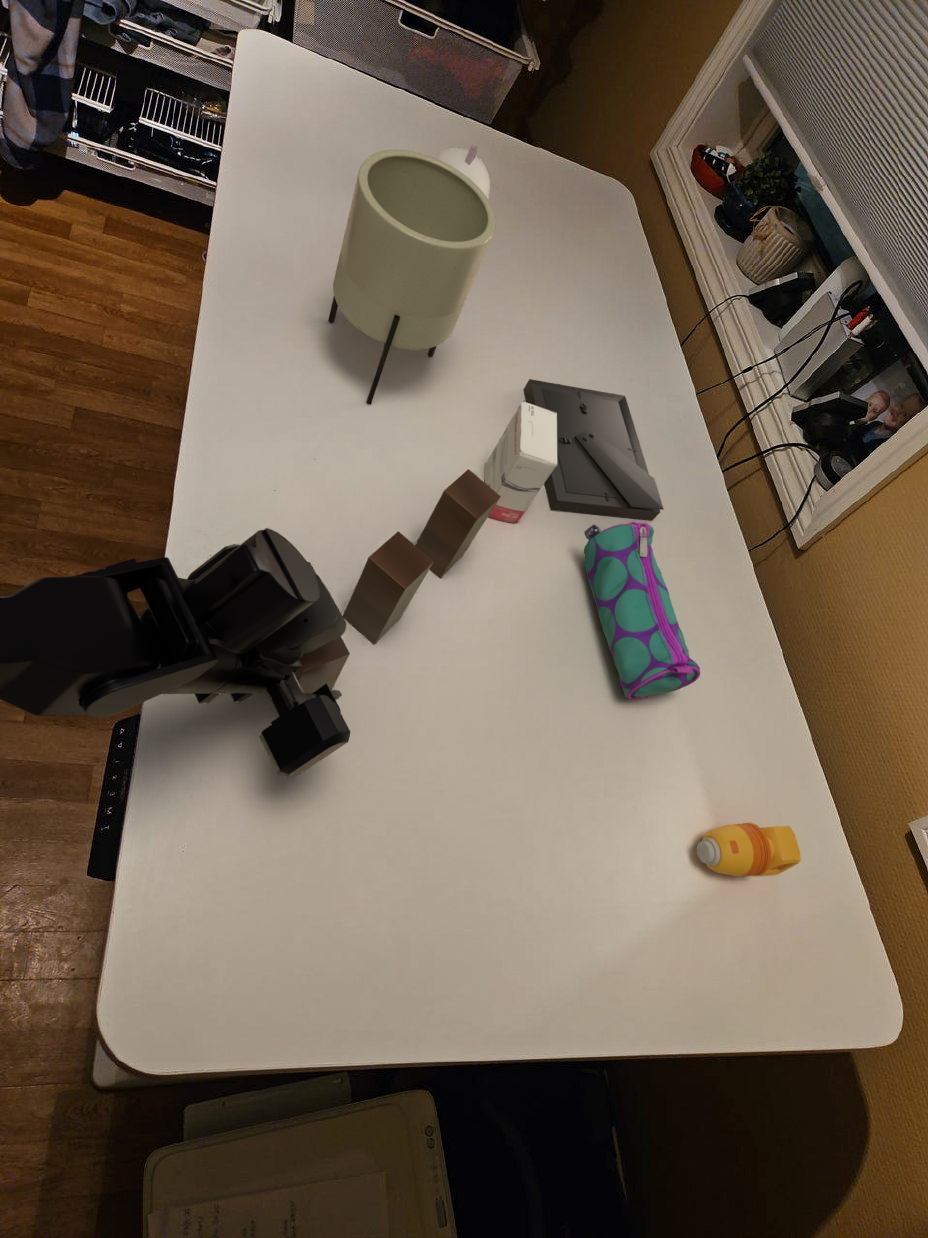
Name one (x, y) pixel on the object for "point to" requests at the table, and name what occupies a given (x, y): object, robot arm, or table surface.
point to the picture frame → (595, 454)
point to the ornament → (467, 165)
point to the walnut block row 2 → (456, 521)
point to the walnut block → (386, 587)
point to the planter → (410, 251)
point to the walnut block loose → (322, 666)
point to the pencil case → (637, 611)
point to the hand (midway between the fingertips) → (318, 660)
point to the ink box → (522, 460)
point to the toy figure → (749, 850)
